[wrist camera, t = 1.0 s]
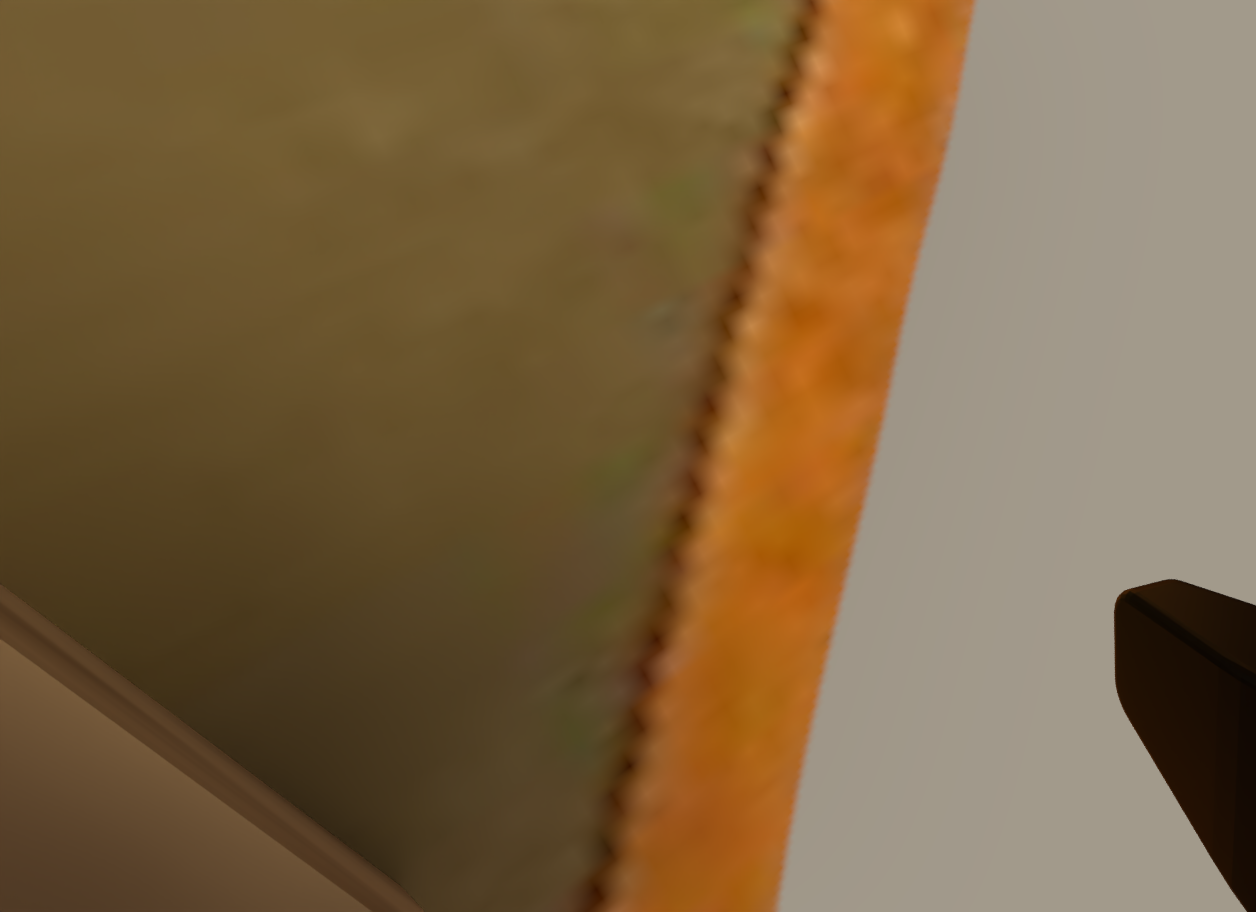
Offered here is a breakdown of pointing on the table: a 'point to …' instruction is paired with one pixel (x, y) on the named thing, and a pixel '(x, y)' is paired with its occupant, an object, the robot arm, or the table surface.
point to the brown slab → (144, 802)
